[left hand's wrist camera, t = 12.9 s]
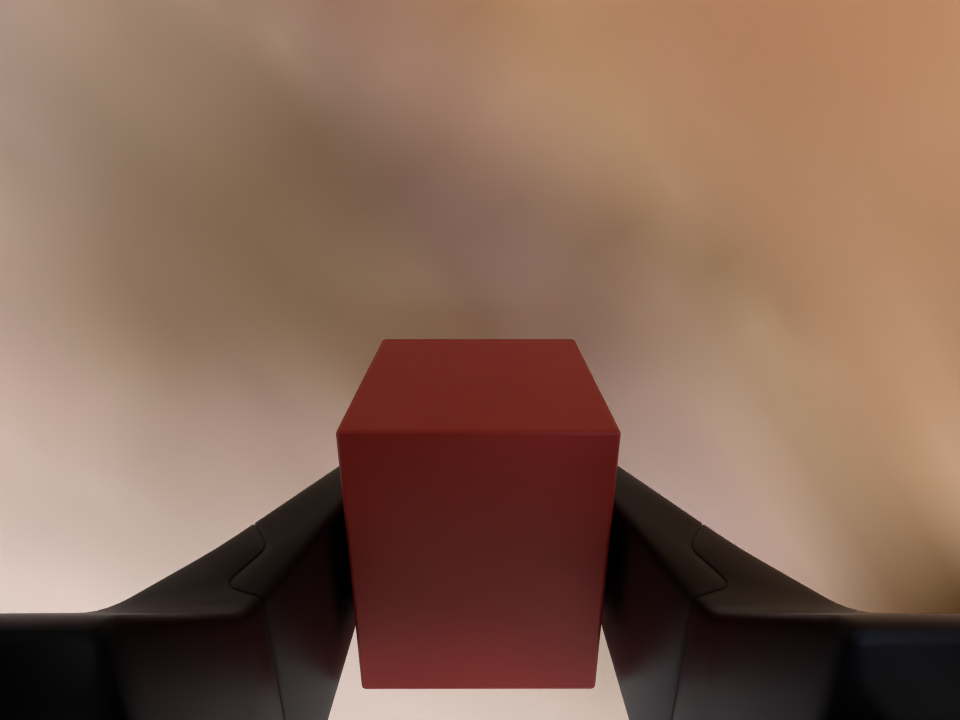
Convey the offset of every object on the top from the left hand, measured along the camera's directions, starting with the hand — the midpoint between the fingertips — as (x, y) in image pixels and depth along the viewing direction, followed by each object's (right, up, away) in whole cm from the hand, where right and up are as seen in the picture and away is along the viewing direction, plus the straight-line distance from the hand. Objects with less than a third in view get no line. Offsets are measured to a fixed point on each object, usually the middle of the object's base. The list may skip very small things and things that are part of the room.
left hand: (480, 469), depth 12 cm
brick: (0, 0, +1) cm, 1 cm away
